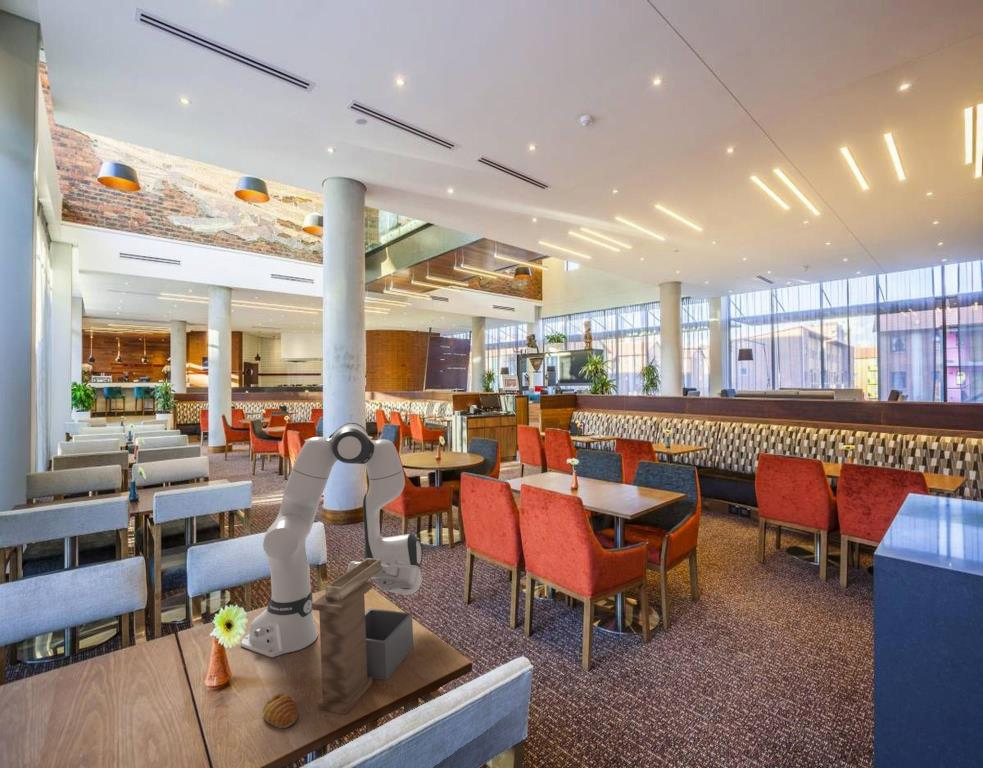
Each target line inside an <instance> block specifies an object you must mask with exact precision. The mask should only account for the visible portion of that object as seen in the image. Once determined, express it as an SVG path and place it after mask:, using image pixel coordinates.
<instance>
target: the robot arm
mask: <svg viewBox="0 0 983 768" xmlns="http://www.w3.org/2000/svg"><path fill="white" fill-rule="evenodd" d="M337 461H340V462H341V463H344V464H354V465H355V464H357V465H358V464H360V465H364V466H365V469H366V473H367V477H368V491H367V492H366V493H365V494H364V496H363V502H362V511H363V513H362V514H363V515H362V517H363V530H364V553H363V554H364V555H363V556H364V560H365V559H366V558H372V559H381V570H380V571H379V572H378V573H377V574H375V575H374V576H373V577H371V578H370V579H371V580H375V581H376V584H377V586H378V587H379V588H380V589H381V590H384V591H387V592H390V593H395V594H399V595H406V596H408V595H412V594H414V593H415V592H417V591H418V590H419V589H420V587H421V585H422V582H423V577H422V573H421V570H420V567H421V565H422V563H423V555H424V553H423V546H422V543H421V541H420V540H419V539H418V538H417V536H416V535H414V534H413V533H408V534H407V533H406V534H399V535H394V536H387V537H386V536H385V537H384V536H382V535H381V527H380V526H381V523H380V510H381V509H382V508H383V507H385V506H386V505H388V504H390V503H392V502H393V501H394V500H396V499H397V498H398V497H400V495H401V494H402V493H403V491H404V488H405V485H406V480H405V474H404V473H405V472H404V469H403V464H402V461H401V458H400V456H399V453H398V451H397V448H396V446H395V443H393V442H392V441H391V440H389V439H384V438H383V439H375V440H374V439H371V438H370V437H369V434H368V431H367V430H366V429H365V427H364V426H362V425H361V424H359V423H356V422H348V423H345V424H343V425H341V426H340V427H339V428H337V429H336V430H335V431H334V432H333V433H331V434H330V435H329V436H328V437H327V438H325V437H322V436H313V437H310V438H308V439H307V440H306V441H305V442H304V444H303V445H302V447H301V449H300V451H299V452H298V454H297V456H296V459H295V461H294V464H293V466H292V469H291V471H290V474H289V477H288V480H287V481H286V485H285V488H284V491H283V496H282V501H281V503H280V507H279V510H278V513H277V516H276V518H275V520H273V523H272V524H271V525H270V526H269V527H268V528H267V530H266V532H265V534H264V537H263V543H262V545H263V546H262V547H263V551H264V553H265V555H266V558H267V562H268V567H269V570H270V571H269V572H270V583H271V584H270V586H271V587H270V588H271V589H270V590H271V595H270V596H269V597H267V599H265V600H264V605H266V604H268V605H267V608H266V609H264V610H263V611H262V612H261V613H260V614H259V615H257V616H256V617H255V618H254V619H253V620H252V622H251V623H250V626H249V633H248V634H246V635H245V636H244V637H243V638H242V640H241V641H240V646H241V647H242V648H245V649H248V650H250V651H253V652H255V653H258V654H261V655H264V656H266V657H269V658H275V657H278V656H281V655H283V654H287V653H292V652H297V651H299V650H302V649H304V648H306V647H308V646H310V645H311V644H313V643H314V642H315V641H316V640H317V638H318V636H319V634H318V630H317V627H316V622H315V618H314V614H313V613H314V612H313V610H312V603H314V602H313V601H314V600H313V590H312V589H311V569H310V568H311V566H310V563H309V561H308V556H307V549H306V542H307V538H308V536H309V535H310V533H311V531H312V528H313V525H314V521H315V519H316V515H317V512H318V509H319V506H320V503H321V499H322V497H323V494H324V491H325V488H326V485H327V483H328V480H329V477H330V475H331V471H332V469H333V466H334V465H335V464H336V463H337ZM361 562H362V561H350V562H349V563H348V566H347V571H346V572H348V571H349V570H350V569H352V568H353V567H355V566H356V565H358V564H359V563H361ZM370 579H369V580H370Z"/></svg>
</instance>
